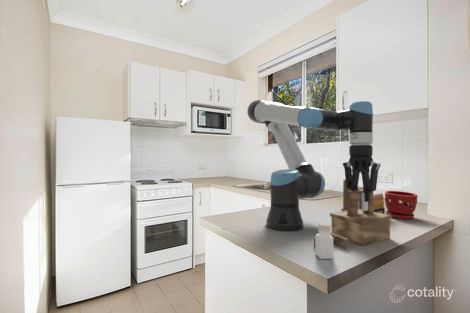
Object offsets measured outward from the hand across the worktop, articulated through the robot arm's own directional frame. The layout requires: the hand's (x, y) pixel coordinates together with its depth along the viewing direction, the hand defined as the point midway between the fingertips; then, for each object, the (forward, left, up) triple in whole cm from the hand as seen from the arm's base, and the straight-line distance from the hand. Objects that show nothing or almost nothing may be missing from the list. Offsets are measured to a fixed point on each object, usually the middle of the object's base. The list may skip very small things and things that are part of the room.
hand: (360, 209), depth 89 cm
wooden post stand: (0, 0, -3) cm, 3 cm away
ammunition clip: (-12, +31, -10) cm, 35 cm away
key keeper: (+2, -18, -10) cm, 21 cm away
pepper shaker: (+6, -26, -10) cm, 28 cm away
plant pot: (-9, +45, -10) cm, 47 cm away
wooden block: (-22, +27, -10) cm, 36 cm away
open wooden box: (0, 0, -10) cm, 10 cm away
